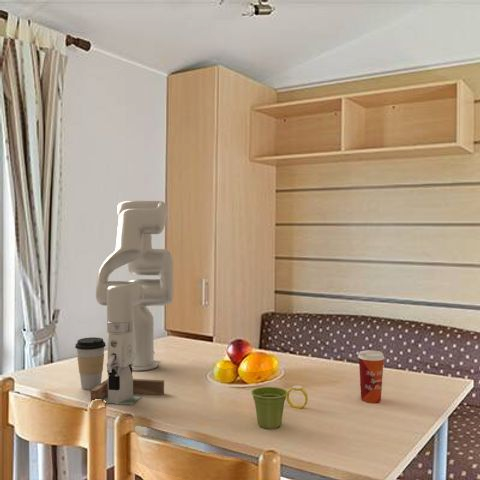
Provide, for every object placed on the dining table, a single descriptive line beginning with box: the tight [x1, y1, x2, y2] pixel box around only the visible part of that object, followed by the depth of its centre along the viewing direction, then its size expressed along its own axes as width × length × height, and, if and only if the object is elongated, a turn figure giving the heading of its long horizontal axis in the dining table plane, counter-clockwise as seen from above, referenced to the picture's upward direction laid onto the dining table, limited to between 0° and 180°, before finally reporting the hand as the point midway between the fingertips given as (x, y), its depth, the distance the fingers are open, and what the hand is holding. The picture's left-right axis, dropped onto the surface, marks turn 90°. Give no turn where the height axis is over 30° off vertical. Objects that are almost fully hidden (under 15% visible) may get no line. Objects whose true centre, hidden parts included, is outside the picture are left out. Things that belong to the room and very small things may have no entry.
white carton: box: [108, 365, 134, 403], centre depth 166 cm, size 4×7×10 cm, turn 150°
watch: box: [285, 385, 309, 410], centre depth 159 cm, size 6×3×6 cm, turn 66°
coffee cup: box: [74, 336, 106, 391], centre depth 179 cm, size 9×9×15 cm
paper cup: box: [357, 349, 385, 404], centre depth 165 cm, size 8×8×14 cm
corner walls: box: [90, 378, 165, 406], centre depth 167 cm, size 14×18×4 cm
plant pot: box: [251, 386, 288, 430], centre depth 146 cm, size 9×9×9 cm
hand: (120, 384), depth 165 cm, fingers open, 9 cm apart
